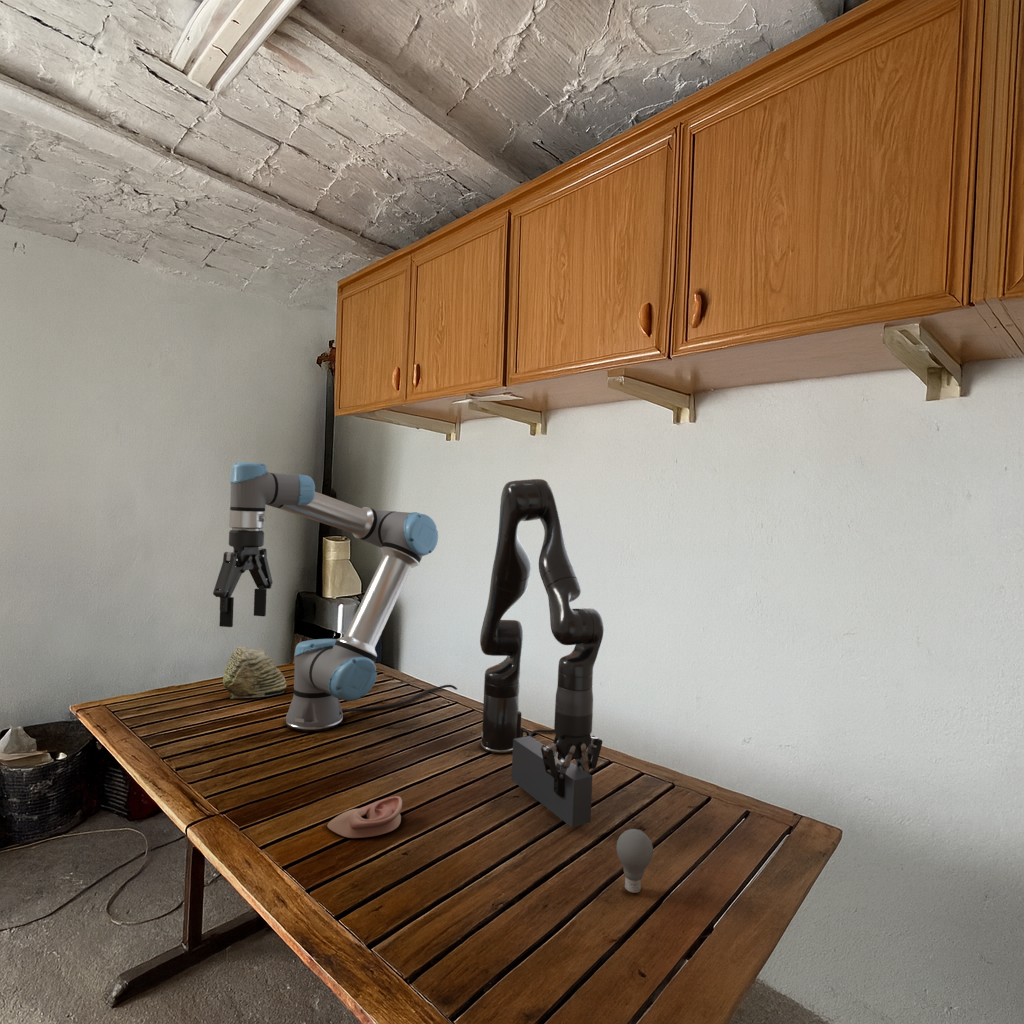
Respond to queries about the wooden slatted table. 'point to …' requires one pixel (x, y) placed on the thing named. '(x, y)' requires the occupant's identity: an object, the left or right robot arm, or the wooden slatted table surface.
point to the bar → (552, 783)
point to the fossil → (252, 674)
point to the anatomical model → (369, 819)
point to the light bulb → (634, 857)
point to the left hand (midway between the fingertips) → (243, 621)
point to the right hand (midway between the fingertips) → (570, 792)
